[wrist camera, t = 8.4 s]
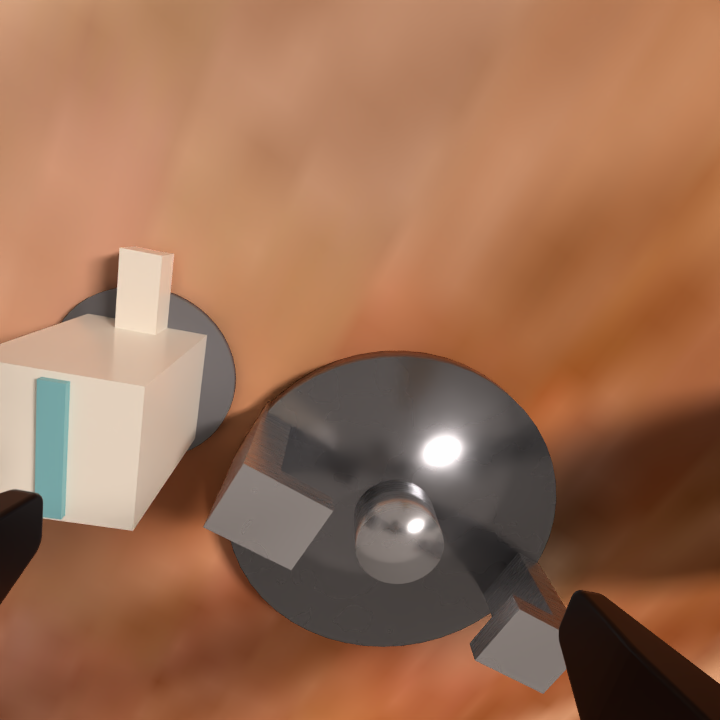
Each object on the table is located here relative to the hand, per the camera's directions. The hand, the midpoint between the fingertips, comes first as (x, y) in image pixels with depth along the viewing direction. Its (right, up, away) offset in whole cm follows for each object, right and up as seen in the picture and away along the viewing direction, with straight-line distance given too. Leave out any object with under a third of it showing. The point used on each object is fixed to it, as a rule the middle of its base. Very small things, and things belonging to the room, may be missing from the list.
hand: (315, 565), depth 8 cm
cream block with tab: (-8, +3, +10) cm, 13 cm away
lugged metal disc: (+2, -3, +13) cm, 13 cm away
